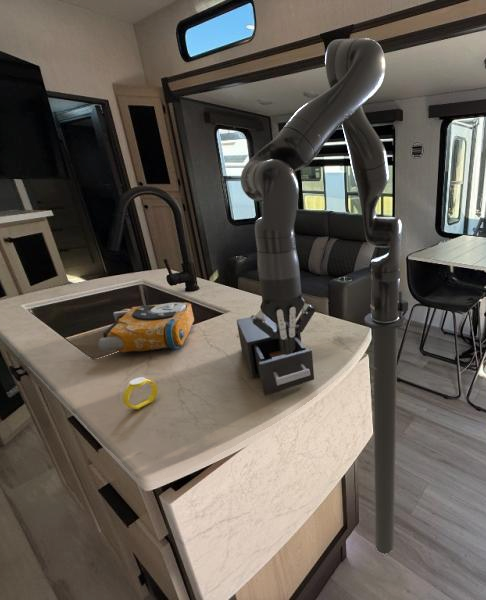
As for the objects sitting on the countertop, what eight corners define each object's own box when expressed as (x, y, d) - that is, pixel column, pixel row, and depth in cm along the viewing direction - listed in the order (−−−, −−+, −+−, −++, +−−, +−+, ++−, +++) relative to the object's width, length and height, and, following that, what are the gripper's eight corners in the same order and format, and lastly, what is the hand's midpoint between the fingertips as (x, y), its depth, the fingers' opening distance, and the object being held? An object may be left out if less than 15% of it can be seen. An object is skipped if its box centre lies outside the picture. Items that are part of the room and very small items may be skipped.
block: (289, 364, 79) (287, 348, 78) (295, 372, 76) (293, 356, 74) (271, 369, 77) (268, 353, 75) (275, 378, 73) (273, 361, 72)
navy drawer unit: (303, 363, 83) (300, 330, 80) (252, 377, 77) (247, 342, 74) (286, 339, 96) (282, 310, 92) (241, 350, 89) (236, 319, 86)
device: (72, 338, 78) (120, 299, 105) (83, 367, 81) (128, 322, 108) (177, 326, 85) (198, 292, 112) (183, 353, 88) (202, 313, 115)
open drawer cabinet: (321, 389, 71) (319, 358, 69) (269, 406, 66) (264, 374, 63) (295, 353, 86) (292, 327, 84) (251, 365, 81) (246, 337, 78)
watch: (133, 415, 65) (125, 390, 62) (124, 411, 66) (116, 387, 63) (162, 398, 70) (155, 374, 68) (154, 395, 71) (147, 372, 69)
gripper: (246, 283, 55) (259, 369, 61) (319, 272, 61) (324, 351, 67) (239, 273, 61) (251, 353, 67) (306, 264, 67) (312, 338, 73)
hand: (288, 352), depth 67 cm, fingers closed
